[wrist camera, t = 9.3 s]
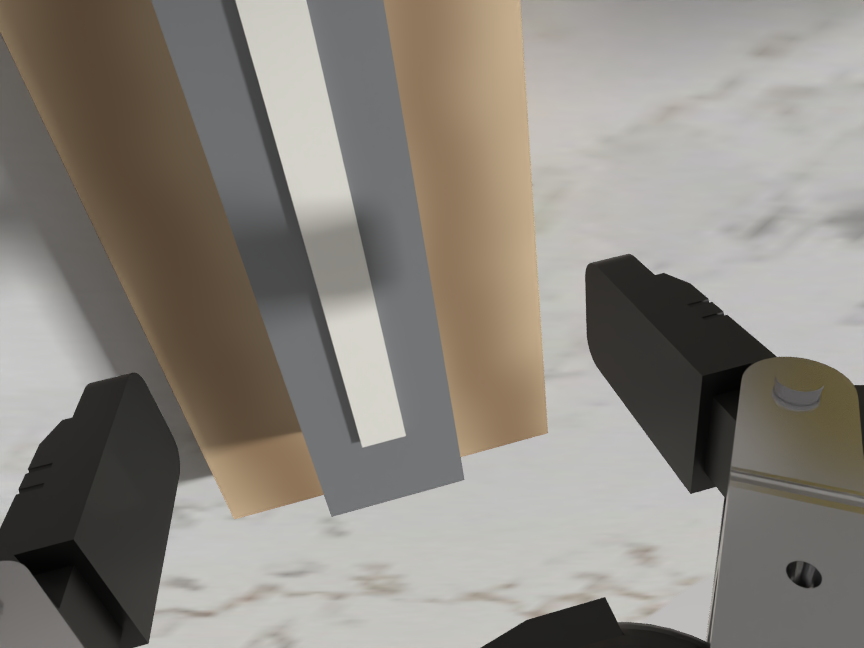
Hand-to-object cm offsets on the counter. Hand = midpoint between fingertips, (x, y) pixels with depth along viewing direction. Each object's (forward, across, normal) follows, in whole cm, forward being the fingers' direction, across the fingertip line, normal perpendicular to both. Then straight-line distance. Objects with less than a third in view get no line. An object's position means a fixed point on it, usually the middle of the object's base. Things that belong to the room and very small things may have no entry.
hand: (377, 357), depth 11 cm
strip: (+10, 0, 0) cm, 10 cm away
